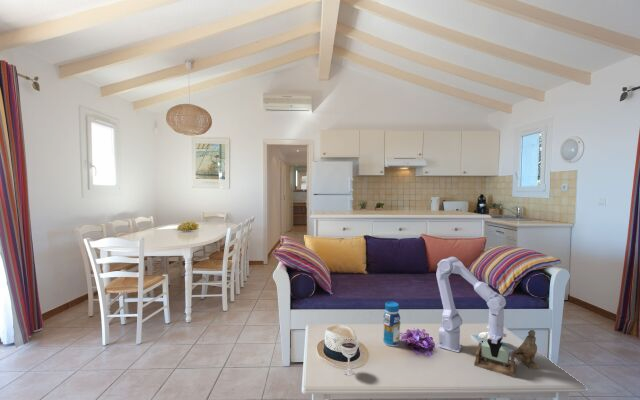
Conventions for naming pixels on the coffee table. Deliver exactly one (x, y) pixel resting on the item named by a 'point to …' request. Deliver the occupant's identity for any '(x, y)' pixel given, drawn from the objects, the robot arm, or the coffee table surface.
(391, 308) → the beverage bottle
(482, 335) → the bust
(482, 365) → the shelf frame
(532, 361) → the brown carved statuette
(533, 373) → the coffee table surface
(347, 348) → the wineglass
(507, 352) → the pale green rectangular block
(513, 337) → the coffee table surface
